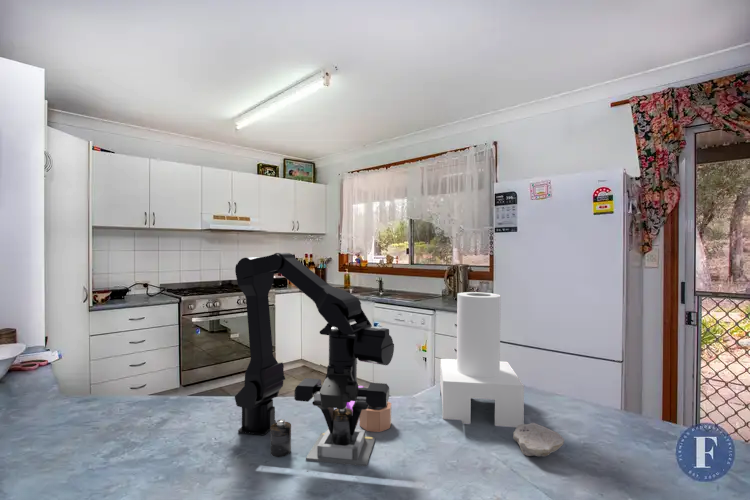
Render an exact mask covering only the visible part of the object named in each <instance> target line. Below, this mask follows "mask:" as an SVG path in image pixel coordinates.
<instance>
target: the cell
mask: <svg viewBox="0 0 750 500" xmlns="http://www.w3.org/2000/svg"><path fill="white" fill-rule="evenodd" d="M352 415H353V412H352V410H351V409H349V408H346V407H345V408H344V409H337V408H334V410H333V427H332V442H333V444H335V445H342V446H346V445H349V444H350V443H351V442H352V435H351V424H352Z"/></svg>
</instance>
